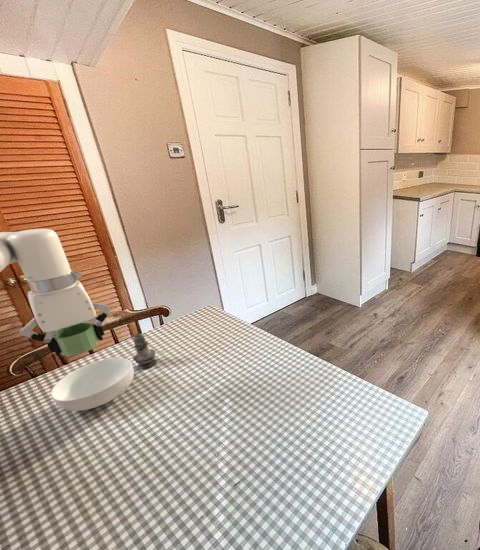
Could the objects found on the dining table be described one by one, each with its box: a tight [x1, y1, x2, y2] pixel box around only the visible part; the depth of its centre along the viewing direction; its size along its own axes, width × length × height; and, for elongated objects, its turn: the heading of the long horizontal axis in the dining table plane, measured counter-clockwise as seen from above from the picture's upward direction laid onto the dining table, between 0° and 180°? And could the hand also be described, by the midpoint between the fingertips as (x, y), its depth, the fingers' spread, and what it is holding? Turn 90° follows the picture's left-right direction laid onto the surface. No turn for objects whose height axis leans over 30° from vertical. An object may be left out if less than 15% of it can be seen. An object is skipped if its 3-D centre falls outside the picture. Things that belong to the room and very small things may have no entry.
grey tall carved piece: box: [132, 332, 158, 371], centre depth 95 cm, size 6×6×12 cm
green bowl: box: [52, 321, 100, 357], centre depth 76 cm, size 7×7×6 cm
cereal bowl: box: [50, 357, 135, 412], centre depth 83 cm, size 17×17×7 cm
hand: (79, 345), depth 77 cm, fingers closed on green bowl, 7 cm apart
